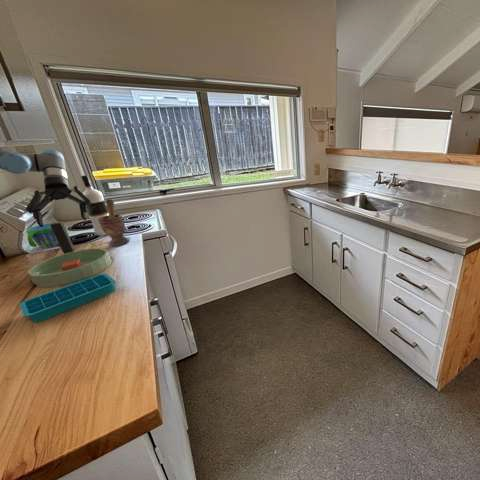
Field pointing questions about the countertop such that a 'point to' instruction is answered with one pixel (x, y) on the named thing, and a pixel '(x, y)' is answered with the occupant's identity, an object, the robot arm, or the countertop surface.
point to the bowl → (53, 275)
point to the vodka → (95, 206)
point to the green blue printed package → (42, 236)
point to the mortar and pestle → (113, 225)
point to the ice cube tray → (67, 297)
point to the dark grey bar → (62, 237)
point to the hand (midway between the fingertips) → (62, 221)
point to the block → (71, 265)
